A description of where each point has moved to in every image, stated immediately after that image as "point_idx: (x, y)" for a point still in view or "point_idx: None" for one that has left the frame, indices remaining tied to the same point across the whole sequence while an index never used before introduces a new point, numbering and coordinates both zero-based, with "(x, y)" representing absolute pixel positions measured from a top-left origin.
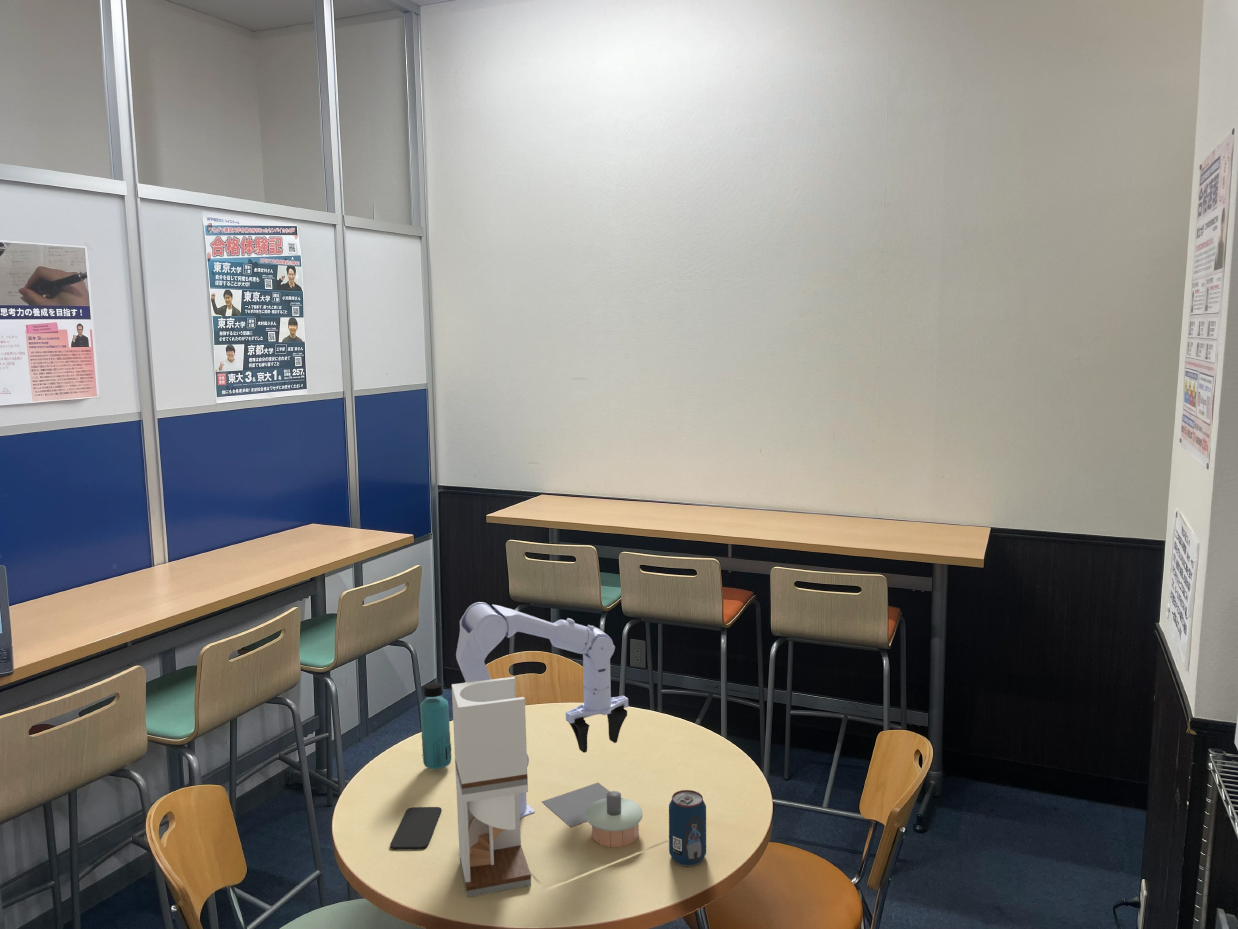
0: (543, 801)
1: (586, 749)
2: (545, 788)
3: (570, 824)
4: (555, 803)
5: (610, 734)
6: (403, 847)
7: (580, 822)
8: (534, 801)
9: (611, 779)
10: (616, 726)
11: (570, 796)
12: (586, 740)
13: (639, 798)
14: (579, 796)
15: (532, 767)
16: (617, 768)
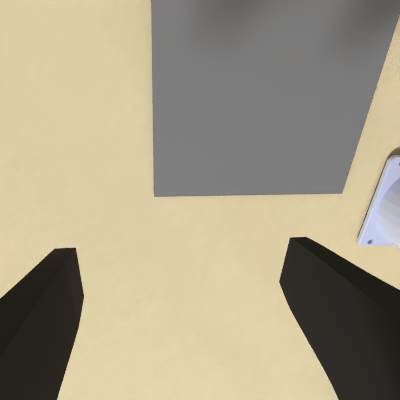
0: (338, 191)
1: (306, 244)
2: (280, 247)
3: (392, 17)
4: (326, 163)
5: (71, 323)
6: None
7: (363, 3)
8: (341, 209)
9: (99, 196)
10: (4, 363)
11: (270, 172)
12: (358, 284)
13: (70, 11)
14: (251, 157)
15: (239, 332)
16: (46, 242)
